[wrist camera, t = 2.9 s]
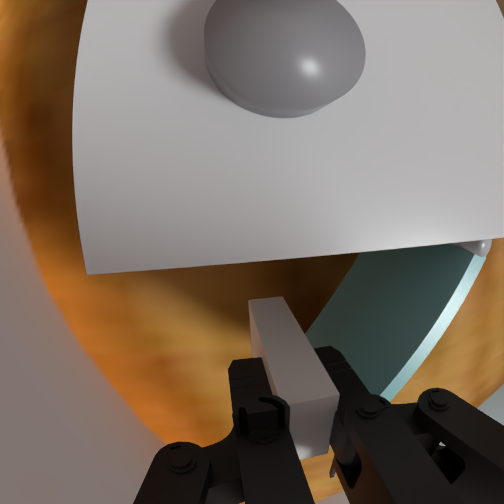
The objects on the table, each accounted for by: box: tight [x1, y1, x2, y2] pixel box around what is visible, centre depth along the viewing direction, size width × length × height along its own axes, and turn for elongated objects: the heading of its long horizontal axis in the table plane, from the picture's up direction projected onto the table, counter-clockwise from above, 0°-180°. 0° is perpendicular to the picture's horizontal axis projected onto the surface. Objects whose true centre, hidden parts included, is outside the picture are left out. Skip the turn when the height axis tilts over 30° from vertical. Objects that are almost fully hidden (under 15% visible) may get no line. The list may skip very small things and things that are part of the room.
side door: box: [305, 239, 492, 402], centre depth 12 cm, size 10×2×7 cm, turn 148°
